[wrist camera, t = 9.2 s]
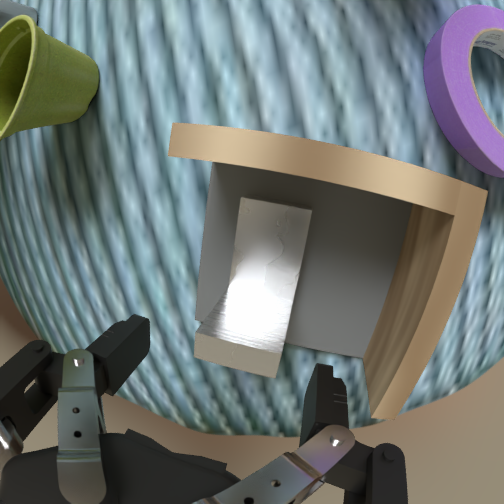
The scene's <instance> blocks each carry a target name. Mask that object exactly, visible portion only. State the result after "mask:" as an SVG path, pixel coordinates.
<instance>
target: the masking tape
mask: <svg viewBox="0 0 504 504" xmlns="http://www.w3.org/2000/svg"><path fill="white" fill-rule="evenodd" d="M473 46H477V47H483V48H486V49H489V50H491V51H493V52H495V53H496V54H498V55H499V56H500V57H502V58H503V59H504V11H502V10H500V9H497V8H494V7H491V6H486V5H469V6H465V7H463V8H461V9H459V10H457V11H456V12H455V13H453V14H452V15H451V16H450V18H449V19H448V20H447V21H446V22H445V23H444V24H443V26H442V27H441V28H440V29H439V30H438V31H437V32H436V33H435V34H434V36H433V37H432V38H431V40H430V42H429V44H428V46H427V49H426V52H425V57H424V67H423V72H424V82H425V87H426V92H427V97H428V100H429V103H430V106H431V109H432V111H433V114H434V116H435V118H436V121H437V123H438V124H439V126H440V128H441V130H442V132H443V133H444V135H445V136H446V138H447V139H448V141H449V142H450V143H451V145H452V146H453V147H454V148H455V150H456V151H457V152H458V153H459V154H460V155H461V156H462V157H463V158H464V159H465V160H467V161H468V162H469V163H470V164H471V165H472V166H474V167H475V168H477V169H478V170H480V171H482V172H484V173H486V174H488V175H491V176H495V177H500V178H504V135H503V134H502V133H501V132H500V131H499V130H498V128H497V127H496V126H495V125H494V124H493V122H492V121H491V119H490V118H489V116H488V114H487V113H486V111H485V109H484V107H483V105H482V103H481V101H480V99H479V96H478V94H477V91H476V88H475V84H474V81H473V77H472V71H471V53H472V48H473Z"/></svg>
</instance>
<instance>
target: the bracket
mask: <svg viewBox="0 0 504 504" xmlns="http://www.w3.org/2000/svg"><path fill="white" fill-rule="evenodd" d="M311 214H312V207H311V206H306V205H301V204H296V203H290V202H285V201H280V200H274V199H269V198H263V197H258V196H252V195H245V196H243V197H241V200H240V207H239V215H238V222H237V229H236V236H235V243H234V251H233V258H232V266H231V273H230V281H229V287H228V288H227V290H226V291H225V292H224V294H223V295H222V297H221V298H220V299H219V301H218V302H217V303H216V305H215V306H214V308H213V309H212V310H211V312H210V313H209V314H208V316H207V317H206V318H205V320H204V321H203V323H202V324H201V325H200V327H199V328H198V329H197V331H196V332H195V348H194V357H195V358H199V359H202V360H205V361H209V362H212V363H216V364H219V365H223V366H227V367H230V368H234V369H238V370H242V371H246V372H250V373H254V374H258V375H262V376H267V377H271V378H275V377H276V374H277V370H278V366H279V362H280V358H281V355H282V350H283V346H284V341H285V337H286V332H287V328H288V323H289V318H290V314H291V309H292V304H293V299H294V295H295V290H296V286H297V281H298V277H299V272H300V268H301V263H302V258H303V254H304V249H305V244H306V239H307V234H308V229H309V224H310V219H311Z"/></svg>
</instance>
